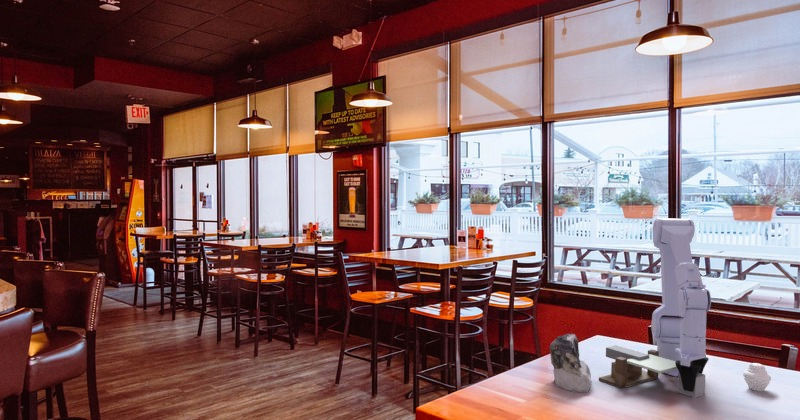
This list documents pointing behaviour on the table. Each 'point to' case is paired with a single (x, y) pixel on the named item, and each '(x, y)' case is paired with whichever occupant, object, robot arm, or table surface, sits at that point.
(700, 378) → the granite cube
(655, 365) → the trapdoor
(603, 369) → the table surface
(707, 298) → the robot arm
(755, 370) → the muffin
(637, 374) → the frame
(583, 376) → the stone
